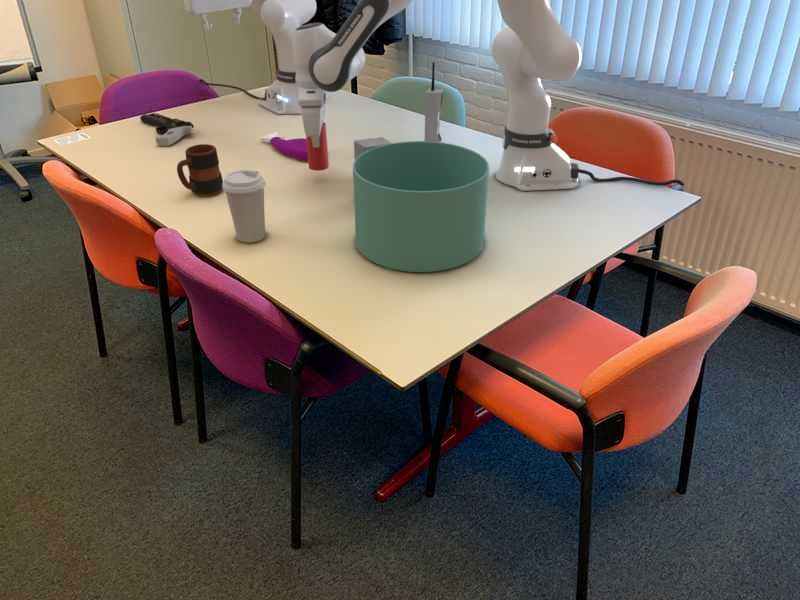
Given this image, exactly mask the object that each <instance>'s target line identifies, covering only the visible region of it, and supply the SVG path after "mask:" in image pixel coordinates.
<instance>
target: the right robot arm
mask: <svg viewBox="0 0 800 600" xmlns="http://www.w3.org/2000/svg"><path fill="white" fill-rule="evenodd" d="M413 1H414V0H358V2H357V4H356V6H355V7H354V9H353V10H352V11H351V13H350V14H349V16H347V18H346V20H345V21H344V23H343V24H342V25H341V27H340V29H338V30H337V32H336V33H335V32H333V30H330V29H329V28H328V27H327V26H326V25H325V24H324V23H322V22H311V23H305V24H301V25H300V27H298V28H297V29H296V30H295V31H294V34H293V59H294V64H295V67H296V76H295V81H296V92H297V98H298V106H301V118H302V124H303V130H304V134H305V137H306V136H307V137H311V139H312V144H313V147H319V146H320V140H319V136H320V133H321V129H322V125H323V122H324V120H325V116H326V104H327V101H328V100H329V99H330V98H331V97H332V93H335V92H338V91H340V90H342V88H343V87H344V86H345V85H346V84H347V83H349V82H350V81H352V80H353V79H354V78H356V77H357V76H358V75H359V74H360V73H361V72H362V71H363V70H364V68H365V65H366V61H367V59H366V52H365V49H364V48H363V47H364V45H365V44H366V42H367V41H368V39H370V37H371V36H372V34H373V33H374V32H375V31H376V30H377V29H378V28H379V27H380V26H381V25H383V24H384V23H385V22H387V21H388V20H390V19H391V18H393V17H394V16H396V15H398V14H399V13H401V12H402V11H403V10H405V9H406V8H407V7H408V6H409V5H410V4H411V3H412V2H413ZM497 5H498V8H499V11H500V16H501V18H502V20H503V22H504V23H505V25H506V27H504V28H501V29H500V31H498V32H497V33H496V35H495V37H494V38H493V41H492V45H491V54H492V58H493V60H494V62H495V63H496V65H497V66H498V68H499V70H500V72H501V74H502V76H503V79H504V83H505V88H506V94H507V114H506V115H507V116H506V125H505V127H504V131H503V135H502V136H503V137H502V148H503V149H502V151H503V152H502V154H501V159H500V162H499V167H498V169H497V172H496V175H495V177H496V180H498V181H499V182H501V183H502V184H504V185H507V186H511V187H515V189H517V190H519V191H522V192H529V191H530V192H531V191H550V190H551V191H552V190H572V189H576V188H577V186H578V184H579V174H585V175H586V176H588V177H590V179H591V180H592V181H594V182H597V183H607V182H616V181H617V182H618V181H627V182H629V181H630V182H635V183H640V184H645V185H651V186H659V187H660V186H661V187H662V186H668V185H671V184H678V185H679V186H682V187H683V186H685V183H684V182H683V181H682V180H680V179H677V178H675V179H670V180H667V181H654V180H648V179H644V178H639V177H633V176H632V177H631V176H615V177H609V178H599V177H596V176H595V174H594V173H593V172H592V171H589V170H586V169H581V168H580V167H579V164H578V163H574V162H573V163H572V162H571V159H570V157H569V155H568V154H567V153H566V152H565V151H564V150H563V149H561V148H560V147H559V146H558V145H557V143H558V141H559V138H558V135H557V134H555V131H554V130H553V129H552V127H551V128H549V122H550V114H551V107H552V100H551V98H550V96H549V94H548V93H547V91H546V90H545V88H544V87H543V85H542V82H541V80H544V81H547V82H566V81H569V80H571V78H573V77H574V76H575V74H576V73H577V72H578V70H579V68H580V65H581V63H582V49H581V47H580V44H579V43H578V42H577V41H576V40H574V38H572V37H571V36H570V35H569V34H568V33H567V32H566V31H565V29H564V27H563V26H562V25H561V23H560V22H559V20H558V18H557V17H556V15H555V14H554V13H555V12H553V9H552V7H551V5H550V3H549V0H497Z"/></svg>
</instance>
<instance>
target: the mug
mask: <svg viewBox="0 0 800 600" xmlns="http://www.w3.org/2000/svg"><path fill="white" fill-rule="evenodd" d="M184 153H185V159H182V160H180V161H179V162H178V163H177V165H176V172H177V176H178V179H179V181H180V182H181V184H182V185H183V187H184V188H185V189H187V190H190V191H191V192H192V194H194V195H195V196H198V197H211V196H216V195H218V194H220V193H221V192H222V191H223V188H222V184H223V181H224V179H223V176H222V172H221V170H220V166H219V164H220V161H219V156H218V150H217V147H216V146H214V145H212V144H207V143H201V144H195V145H191V146H189V147H187V148H186V149H185V151H184ZM184 166H187V169H188V174H189V175H188V179H187V177H186V175H185V173H184V168H183V167H184Z"/></svg>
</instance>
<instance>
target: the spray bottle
mask: <svg viewBox="0 0 800 600" xmlns="http://www.w3.org/2000/svg"><path fill="white" fill-rule="evenodd" d="M285 138H286V136H282V135H279V132H272V133H269V134H266V135H263V136H261V137H260V138H259V140H260V142H261V143H263V142H264V143H269V144H270V145H271V147H273V149H274V150H276V151H277V152H278V153H280V154H282V155H284V156H286V157H289V158H292V159H294V160H297V161H301V162H308V152H307V140H306V138H302V137H301V138H299V137H298V138H291V139H285Z"/></svg>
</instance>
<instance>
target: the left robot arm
mask: <svg viewBox="0 0 800 600" xmlns="http://www.w3.org/2000/svg"><path fill="white" fill-rule="evenodd" d="M183 4H184V5H183V6H184V10H185V12H186V13H187V14H189V15H193V16H194V15H195V16H196V15H197V17H198V18H199V20H200V21H201V22H202V23H203V29H204V31H211V30H213V27H212V22H209V21H208V20H207V17H208V13H214V12H215V13H216V12H220V11H227V10H233V12H234V15H233V17H232V18H231V25H232V26H240V24H241V21H240V18H241V16H242V13H243V10H242V8H245V9H247V10H249V11H252V12H254V13H256V14H260V18H261V21H262V23H263V24H264V25H265V26H266V28H268V29H269V31H270V33H271V35H272V38H273V40H274V44H275V47H276V55H277V62H278V68H277V69H274V74H276V79H275V80H274V81H273V82H272V83H271V84H270V85H269V86H268V87H267V88H266V89H265V90H264V97H259V96H257V95H254V94H252V93H250V92H249V91H248V90H246V89H243V88H241V87H239V86H236V85H235V86H233V85H230V84H229V85H228V84H221V83H213V82H212V83H211V82H206V81H205V80H204V79H203V78H200V79H199V80H198V83H201V82H202V83H203V84H205V85H207V86H214V87H215V86H216V87H224V88H231V89H235V90H239V91H240V92H244V93H245V94H246V95H248V96H249V97H252V98H254V99H256V100H262V101H261V102H260V106H261V107H263V108H265V109H267V110H268V111H271V112H273V113H275V114H276V115H298V114H299V115H302V113H301V106H298V98H297V92H296V81H295V76H296V67H295V64H294V59H293V34H294V31H295V30H296V29H297V28H298V27H300V26H302V25H305V24H307V23H308V22H309V21H311V19H312V18H313V17H315V15H316V12H317V8H318V7H317V1H316V0H183Z"/></svg>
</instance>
